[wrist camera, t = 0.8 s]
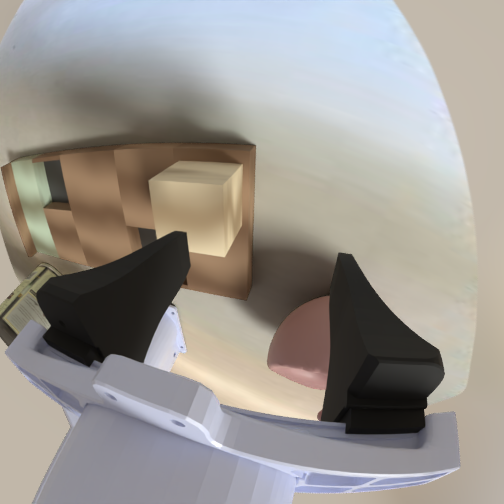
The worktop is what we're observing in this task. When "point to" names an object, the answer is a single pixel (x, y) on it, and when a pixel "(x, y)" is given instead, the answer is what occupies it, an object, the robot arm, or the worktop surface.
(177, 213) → the block
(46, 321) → the coffee can
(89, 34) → the worktop surface
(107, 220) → the board
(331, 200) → the worktop surface
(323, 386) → the pink mushroom
